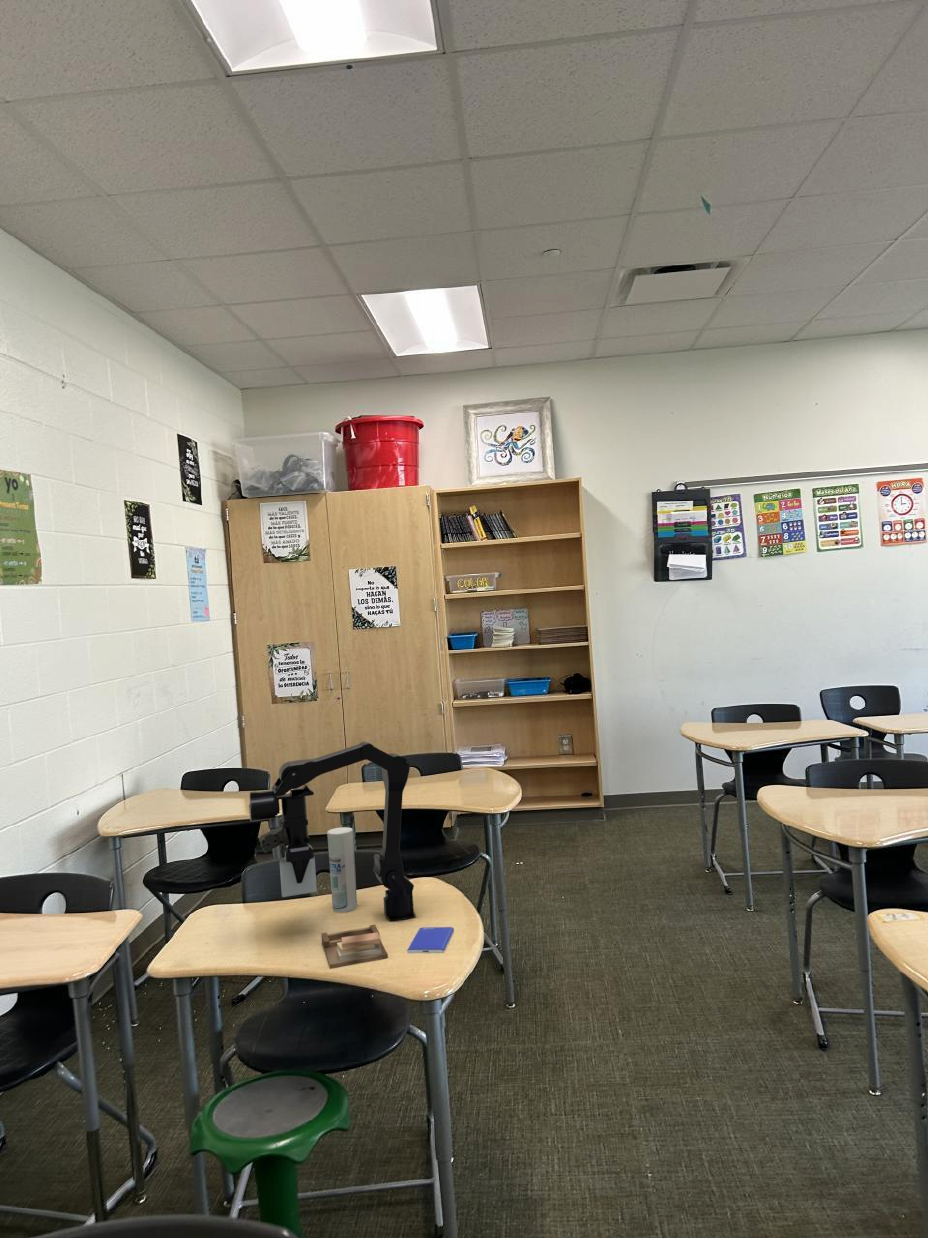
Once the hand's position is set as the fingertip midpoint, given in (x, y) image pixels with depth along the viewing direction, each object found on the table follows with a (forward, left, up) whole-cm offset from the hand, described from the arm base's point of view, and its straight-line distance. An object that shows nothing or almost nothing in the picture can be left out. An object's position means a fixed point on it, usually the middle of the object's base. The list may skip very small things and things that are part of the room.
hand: (298, 881), depth 192 cm
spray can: (-12, -13, -12) cm, 22 cm away
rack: (-10, +16, -12) cm, 22 cm away
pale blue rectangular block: (0, 0, -3) cm, 3 cm away
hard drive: (-27, +19, -13) cm, 35 cm away
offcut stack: (-10, +20, -12) cm, 26 cm away
